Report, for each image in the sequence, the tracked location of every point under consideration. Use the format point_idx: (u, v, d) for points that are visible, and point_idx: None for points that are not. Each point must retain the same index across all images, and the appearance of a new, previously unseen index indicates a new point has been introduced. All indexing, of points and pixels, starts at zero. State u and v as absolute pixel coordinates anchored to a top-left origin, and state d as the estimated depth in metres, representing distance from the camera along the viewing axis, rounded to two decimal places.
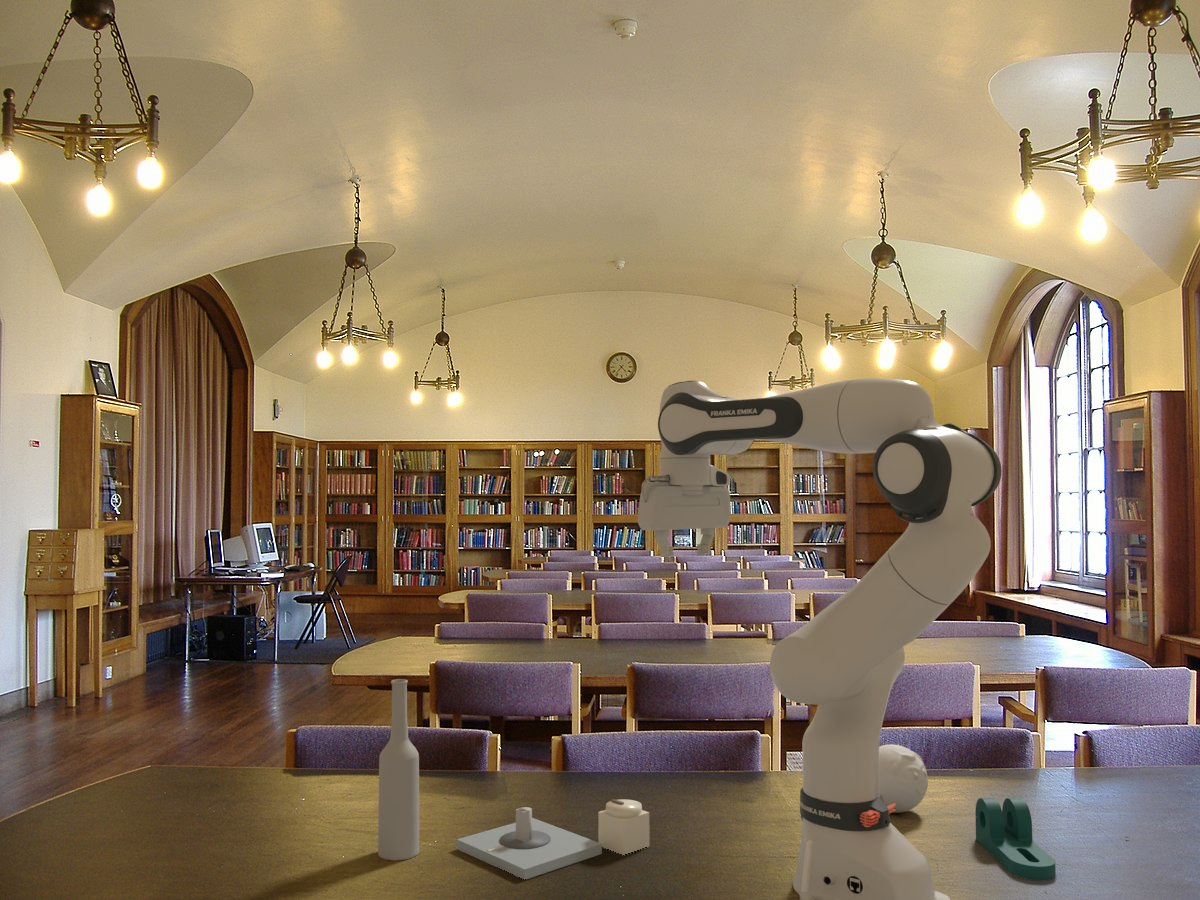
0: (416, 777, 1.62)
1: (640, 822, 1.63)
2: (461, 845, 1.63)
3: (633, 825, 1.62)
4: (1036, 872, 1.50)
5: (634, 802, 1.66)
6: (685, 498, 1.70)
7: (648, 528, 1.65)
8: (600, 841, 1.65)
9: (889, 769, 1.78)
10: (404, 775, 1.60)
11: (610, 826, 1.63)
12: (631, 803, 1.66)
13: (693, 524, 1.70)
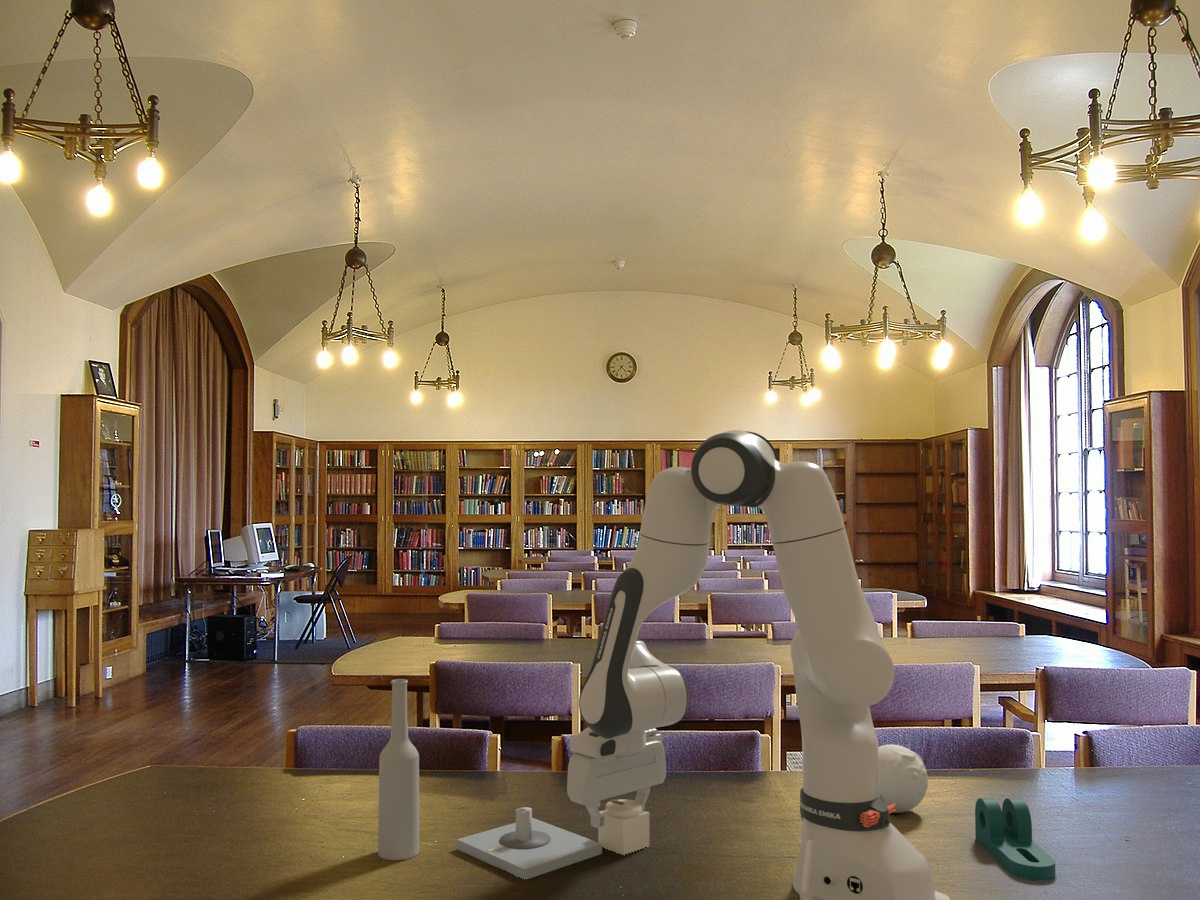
0: (416, 777, 1.62)
1: (640, 822, 1.63)
2: (461, 845, 1.63)
3: (633, 825, 1.62)
4: (1036, 872, 1.50)
5: (634, 802, 1.66)
6: None
7: None
8: (600, 841, 1.65)
9: (889, 769, 1.78)
10: (404, 775, 1.60)
11: (610, 826, 1.63)
12: (631, 803, 1.66)
13: None
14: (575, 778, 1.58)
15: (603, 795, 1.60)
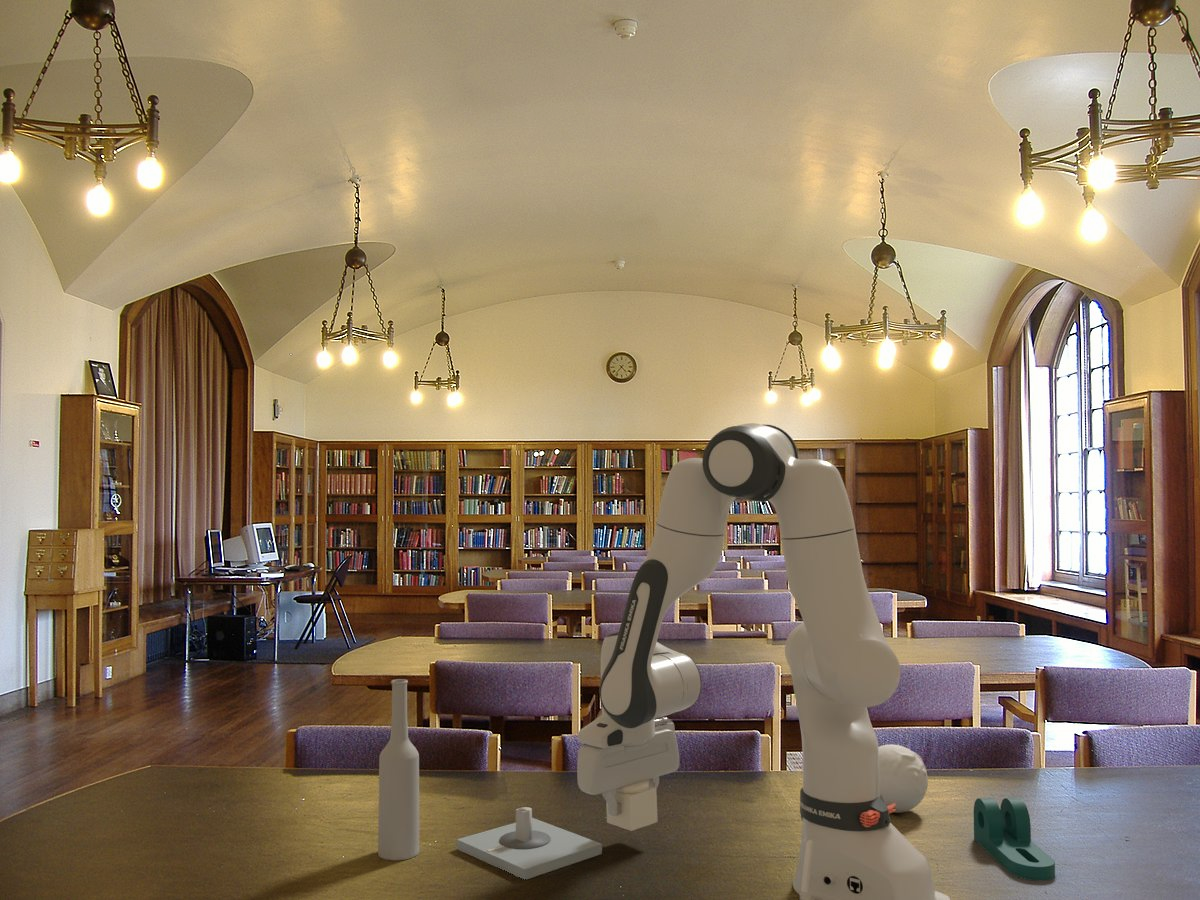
0: (416, 777, 1.62)
1: (647, 798, 1.64)
2: (461, 845, 1.63)
3: (640, 800, 1.63)
4: (1036, 872, 1.50)
5: None
6: None
7: None
8: (608, 817, 1.66)
9: (889, 769, 1.78)
10: (404, 775, 1.60)
11: (617, 802, 1.64)
12: None
13: None
14: (584, 769, 1.60)
15: (613, 785, 1.62)
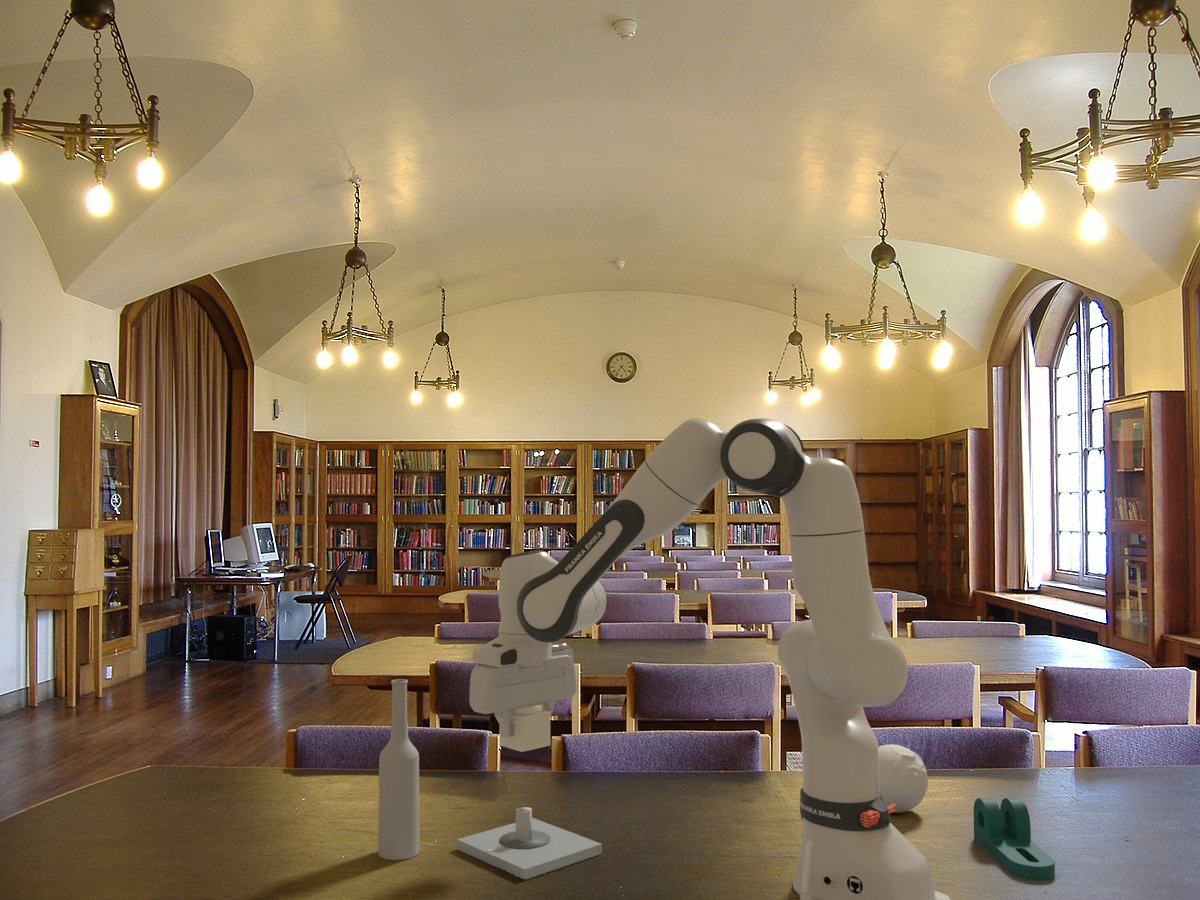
0: (416, 777, 1.62)
1: (540, 720, 1.63)
2: (461, 845, 1.63)
3: (532, 722, 1.62)
4: (1036, 872, 1.50)
5: None
6: None
7: None
8: (501, 740, 1.64)
9: (889, 769, 1.78)
10: (404, 775, 1.60)
11: (510, 724, 1.62)
12: None
13: None
14: (476, 688, 1.58)
15: (506, 705, 1.60)
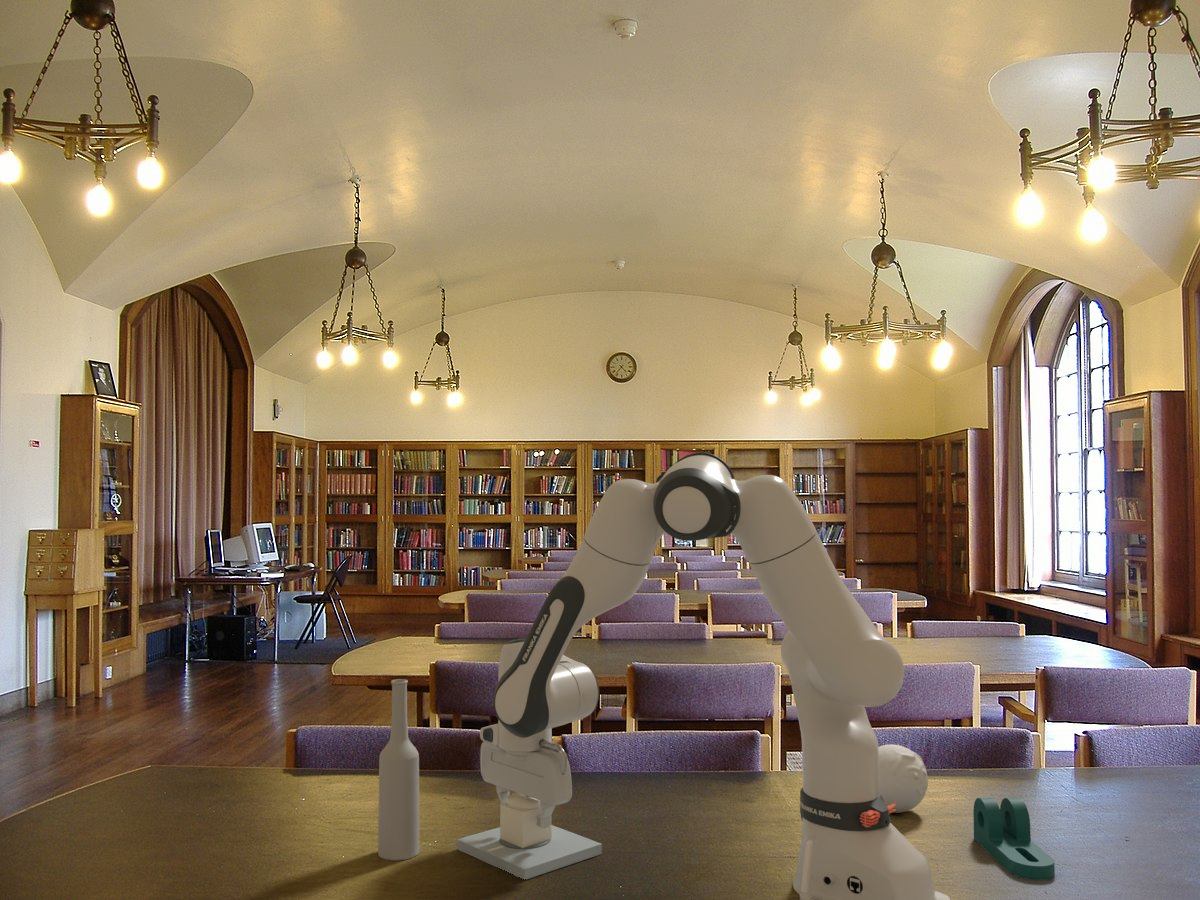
0: (416, 777, 1.62)
1: (514, 816, 1.61)
2: (461, 845, 1.63)
3: (508, 815, 1.62)
4: (1035, 872, 1.50)
5: (532, 800, 1.62)
6: None
7: (565, 801, 1.57)
8: None
9: (889, 769, 1.78)
10: (404, 775, 1.60)
11: None
12: (530, 799, 1.62)
13: None
14: None
15: (497, 781, 1.66)
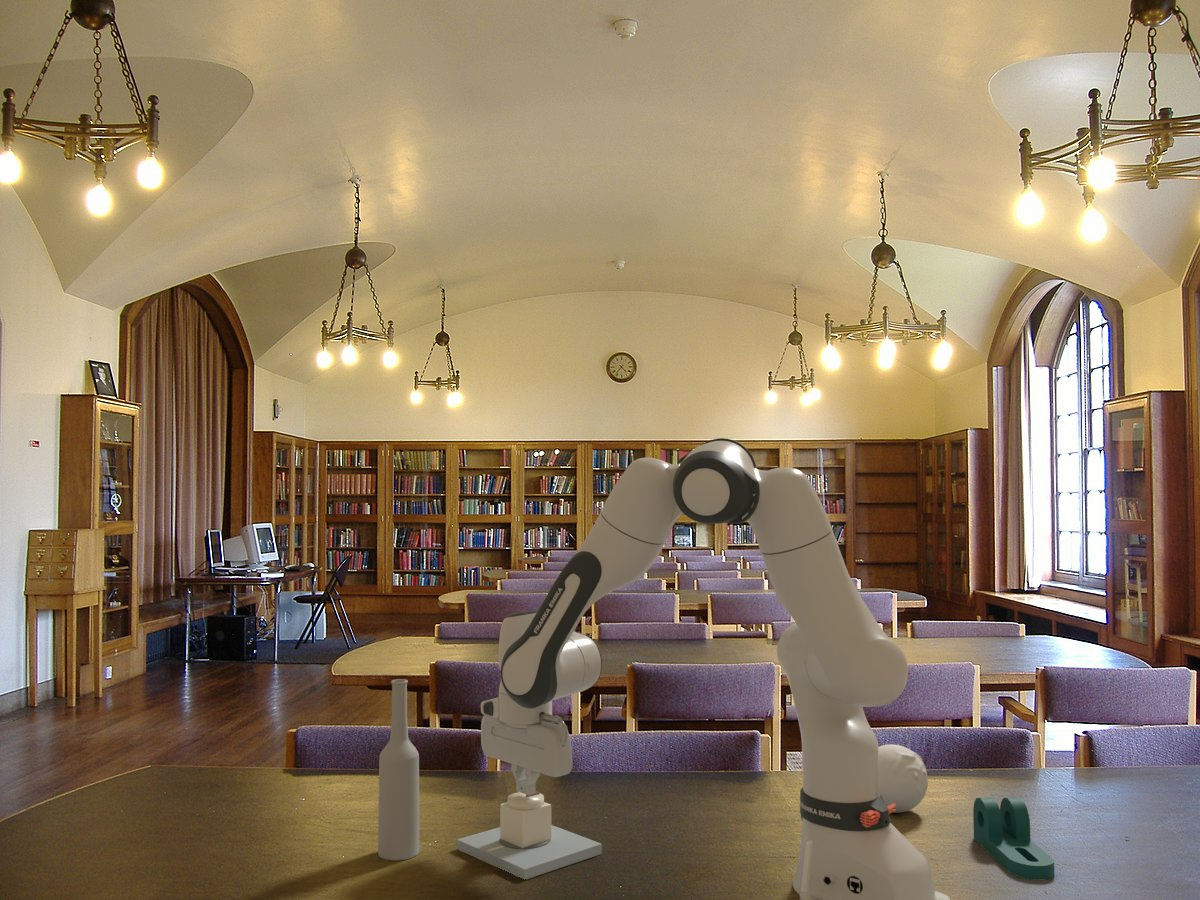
0: (416, 777, 1.62)
1: (514, 816, 1.61)
2: (461, 845, 1.63)
3: (508, 815, 1.62)
4: (1035, 871, 1.50)
5: (532, 800, 1.62)
6: None
7: (566, 773, 1.57)
8: None
9: (889, 769, 1.78)
10: (404, 775, 1.60)
11: None
12: (530, 799, 1.62)
13: None
14: None
15: (497, 755, 1.67)
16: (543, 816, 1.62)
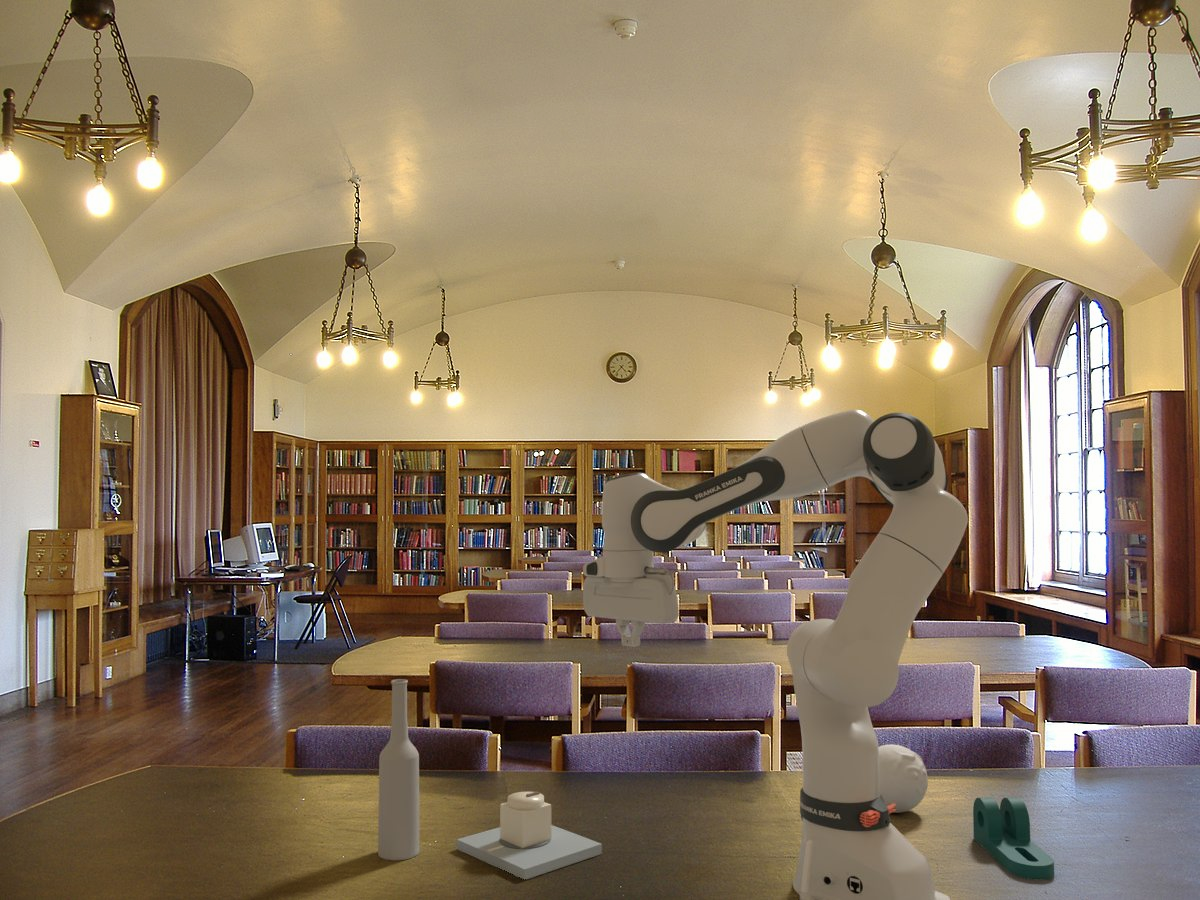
0: (416, 777, 1.62)
1: (514, 816, 1.61)
2: (461, 845, 1.63)
3: (508, 815, 1.62)
4: (1035, 871, 1.50)
5: (532, 800, 1.62)
6: None
7: (673, 620, 1.66)
8: None
9: (889, 769, 1.78)
10: (404, 775, 1.60)
11: None
12: (530, 799, 1.62)
13: None
14: None
15: (601, 613, 1.76)
16: (543, 816, 1.62)
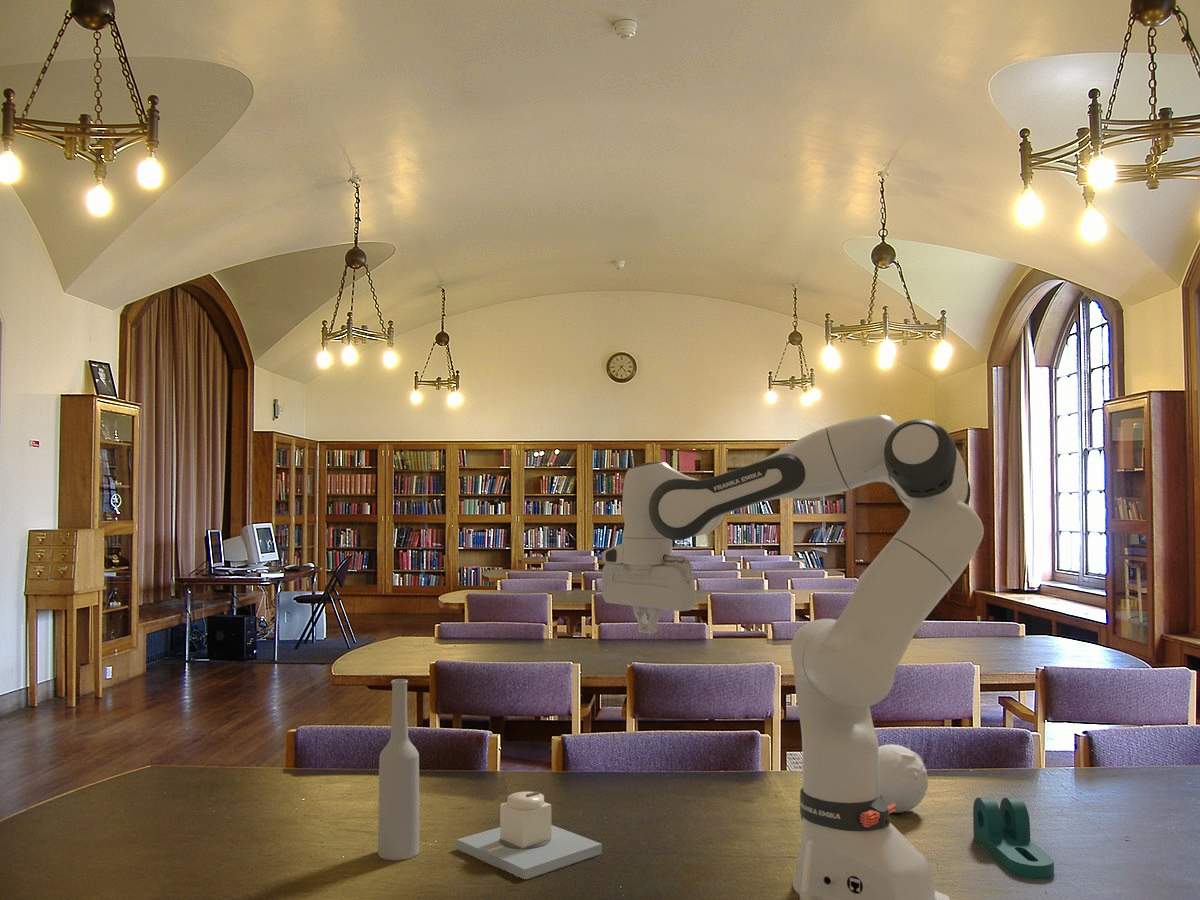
0: (416, 777, 1.62)
1: (514, 816, 1.61)
2: (461, 845, 1.63)
3: (508, 815, 1.62)
4: (1035, 871, 1.50)
5: (532, 800, 1.62)
6: None
7: (690, 608, 1.68)
8: None
9: (889, 769, 1.78)
10: (404, 775, 1.60)
11: None
12: (530, 799, 1.62)
13: None
14: None
15: (619, 599, 1.78)
16: (543, 816, 1.62)
